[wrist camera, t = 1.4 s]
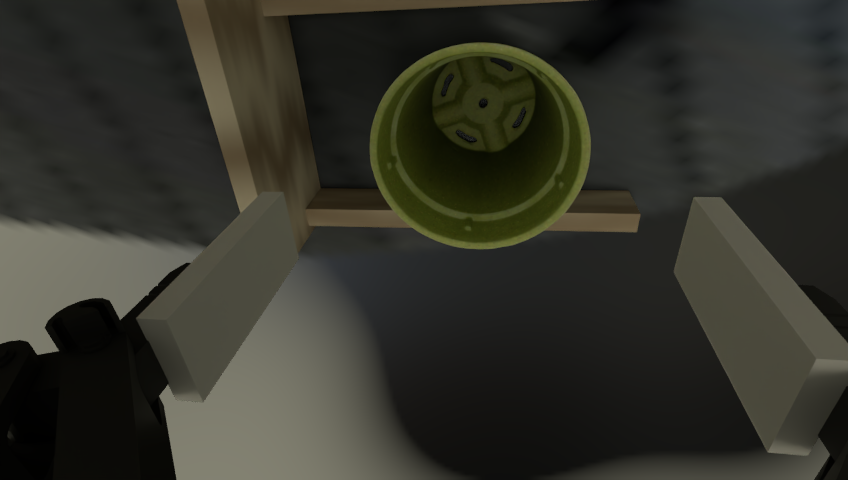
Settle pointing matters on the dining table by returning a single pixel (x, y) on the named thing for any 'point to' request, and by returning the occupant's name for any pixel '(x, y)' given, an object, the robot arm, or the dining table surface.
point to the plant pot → (480, 146)
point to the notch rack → (288, 125)
